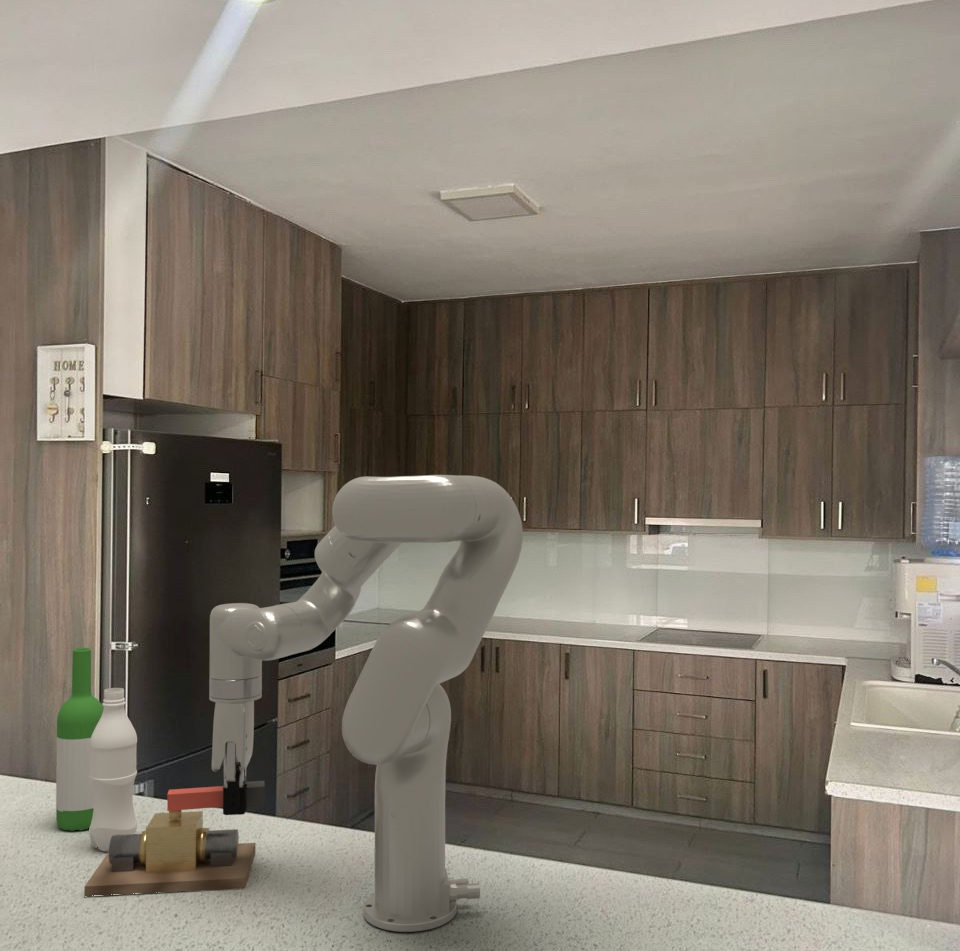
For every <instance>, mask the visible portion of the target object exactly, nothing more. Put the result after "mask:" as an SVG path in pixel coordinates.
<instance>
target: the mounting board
mask: <svg viewBox="0 0 960 951" xmlns="http://www.w3.org/2000/svg"><path fill="white" fill-rule="evenodd" d="M255 856H256V842H250V843H249V842H247V843H246V842H244V843H238V854H237V858H234V860H233V863H232V866H223V867H211V859H208V861H207V862H199V864H198V866H197V868H196V870H195V871H175V872H156V873H146V865H140V863H138V864H137V866H136V867H135V869H134V871H125V872H112V864H110V862H109V851H107V854H106V855H105V856H104V858H103V860H101V862H100V864H99V865H98V866H97V867H96V869H95V871H94V872H93V874H92V875H91V877H89V880H88V881H87V882H86V884H85V885H84V898H86V897H85V896H92V895H93V896H94V895H111V894H112V895H113V894H133V893H134V894H135V893H154V894H159V893H158V892H173V893H181V892H180V891H191V892H202V891H201V890H210V891H225V890H245V889H246V887H247V883H248V879H249V876H250V872H251V869H252V866H251V865H253V862H254V859H255ZM253 858H254V859H253ZM244 888H245V889H244ZM177 891H179V892H177ZM156 892H157V893H156Z"/></svg>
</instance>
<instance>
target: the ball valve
mask: <svg viewBox="0 0 960 951" xmlns="http://www.w3.org/2000/svg"><path fill="white" fill-rule="evenodd" d="M203 816H204V812H203V810H202V811H201V810H200V811H182V812H181V818H179V819H169V812H157V813H154V815H153V816H152V818H151V819H150V821H149V823H148V824H147V826H146V828H145V830H143V831H141V833H135V834H125V835H113V836H112V837H111V840H110V845H109V851H108V852H109V862H110V864H112V872H125V871H134V869H135V867H136V866H137V864H138V863H140V865H146V873H156V872H175V871H195V870H196V868H197V866H198V864H199V862H207V861H208V859H211V867H223V866H232V863H233V860H234V858H237V854H238V844H239V839H240V838H239V829H238V828H237V829H234V828H233V829H217V830H216V829H215V830H213V829H211V830H210V828H209V827H204V826H203V825H204V824H203V822H204V820H203V819H204V817H203Z"/></svg>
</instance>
